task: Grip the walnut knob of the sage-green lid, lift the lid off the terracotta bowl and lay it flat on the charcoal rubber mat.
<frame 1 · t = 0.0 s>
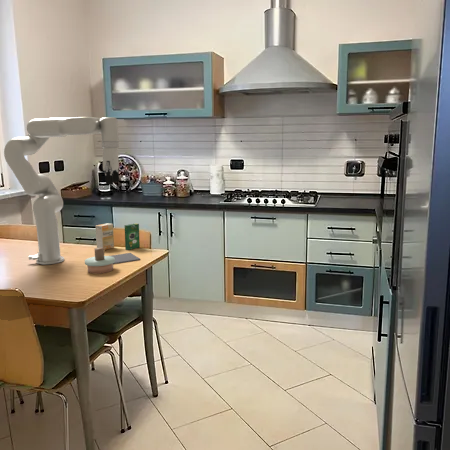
hand: (112, 183, 218), 37 cm above the table, tool pointing down, fingers open, 9 cm apart
lid: (100, 262, 210), point 4 cm above the table, touching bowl
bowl: (100, 269, 211), on the table
mat: (121, 258, 229), on the table
coffee box: (132, 249, 250), on the table
supplement box: (105, 249, 250), on the table
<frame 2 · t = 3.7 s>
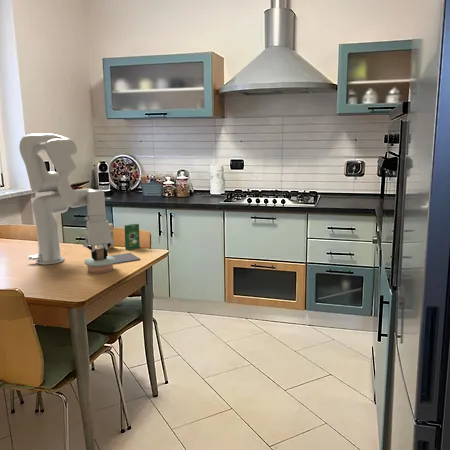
hand: (99, 258, 210), 5 cm above the table, tool pointing down, fingers closed on lid, 4 cm apart
lid: (100, 262, 210), point 4 cm above the table, touching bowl, gripper
everything else where it was.
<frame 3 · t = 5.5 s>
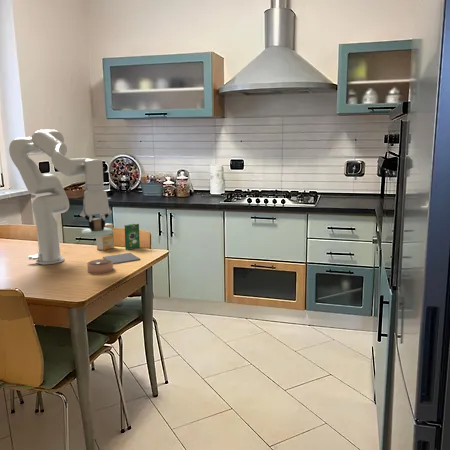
hand: (97, 229, 208), 19 cm above the table, tool pointing down, fingers closed on lid, 4 cm apart
lid: (97, 232, 208), point 17 cm above the table, touching gripper
everything else where it was.
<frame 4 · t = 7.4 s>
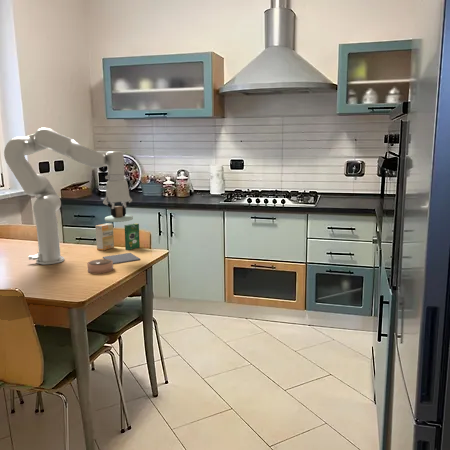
hand: (118, 215, 225), 21 cm above the table, tool pointing down, fingers closed on lid, 4 cm apart
lid: (118, 219, 225), point 19 cm above the table, touching gripper
everything else where it was.
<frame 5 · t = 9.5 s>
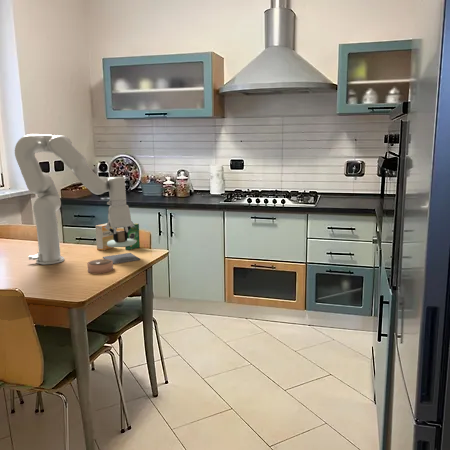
hand: (120, 240, 227), 9 cm above the table, tool pointing down, fingers closed on lid, 4 cm apart
lid: (121, 243, 228), point 7 cm above the table, touching gripper
everything else where it was.
when the fingers open (4 cm above the table, at t = 11.3 s): lid drops 2 cm, resting on mat.
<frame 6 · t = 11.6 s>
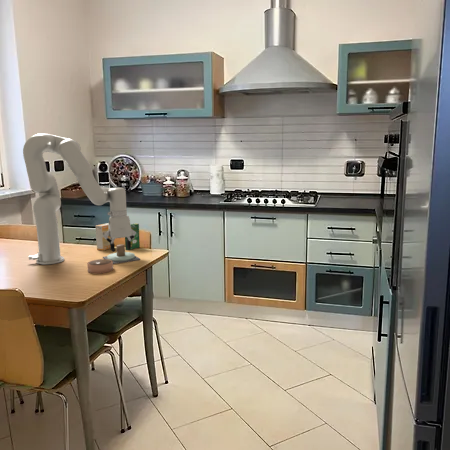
hand: (120, 249, 228), 5 cm above the table, tool pointing down, fingers open, 7 cm apart
lid: (121, 257, 229), point 1 cm above the table, touching mat
everything else where it was.
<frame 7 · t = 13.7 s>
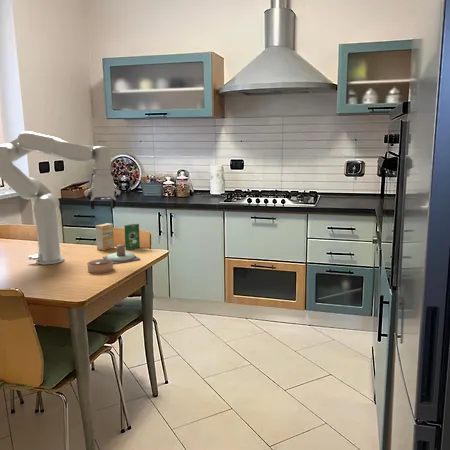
hand: (102, 208, 226), 25 cm above the table, tool pointing down, fingers open, 9 cm apart
nothing on the table moved.
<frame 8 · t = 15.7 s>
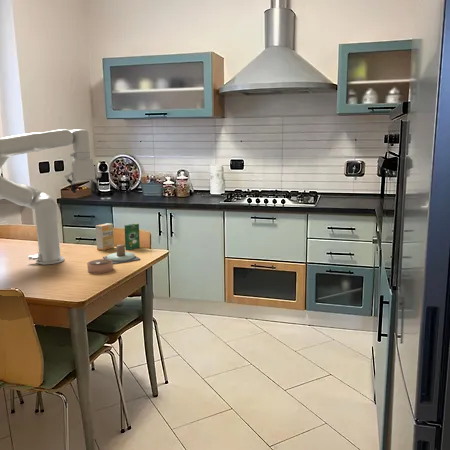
hand: (84, 191, 228), 32 cm above the table, tool pointing down, fingers open, 9 cm apart
nothing on the table moved.
at the end: lid inside the target area on the mat (0.1 cm from its centre), point 0.6 cm above the mat's base; lid tilted 0°; the gripper is holding nothing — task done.
